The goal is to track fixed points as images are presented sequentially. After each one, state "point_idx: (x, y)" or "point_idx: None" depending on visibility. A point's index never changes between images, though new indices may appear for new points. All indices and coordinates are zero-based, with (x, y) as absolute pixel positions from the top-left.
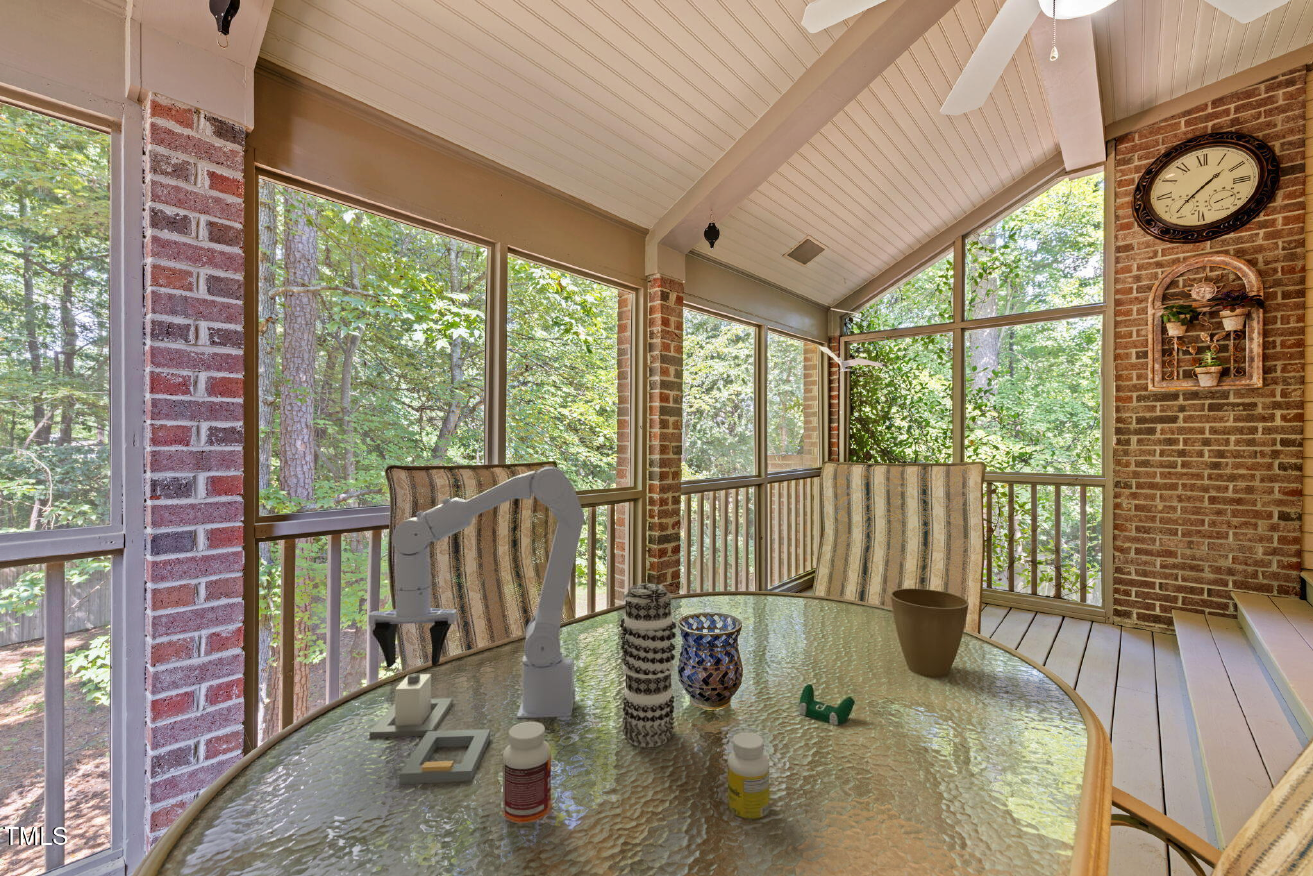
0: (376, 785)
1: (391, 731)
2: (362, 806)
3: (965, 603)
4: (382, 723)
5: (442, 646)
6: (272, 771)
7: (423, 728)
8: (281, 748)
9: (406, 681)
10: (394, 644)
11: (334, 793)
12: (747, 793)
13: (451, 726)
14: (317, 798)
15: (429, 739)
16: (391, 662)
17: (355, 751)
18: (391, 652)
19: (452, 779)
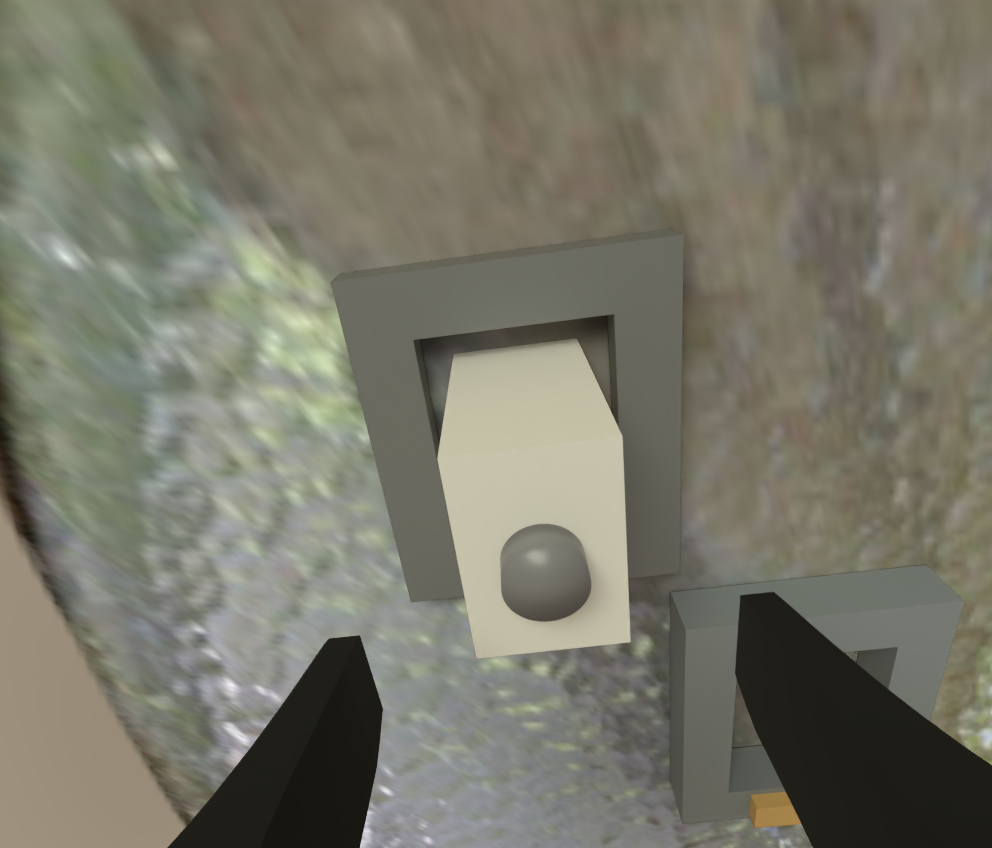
0: (597, 775)
1: None
2: (604, 832)
3: None
4: (420, 536)
5: (893, 696)
6: (226, 745)
7: (637, 563)
8: (117, 647)
9: (490, 564)
10: (295, 807)
11: (497, 804)
12: None
13: (731, 463)
14: (465, 819)
15: (714, 676)
16: (374, 732)
17: (415, 647)
18: (341, 808)
19: None
